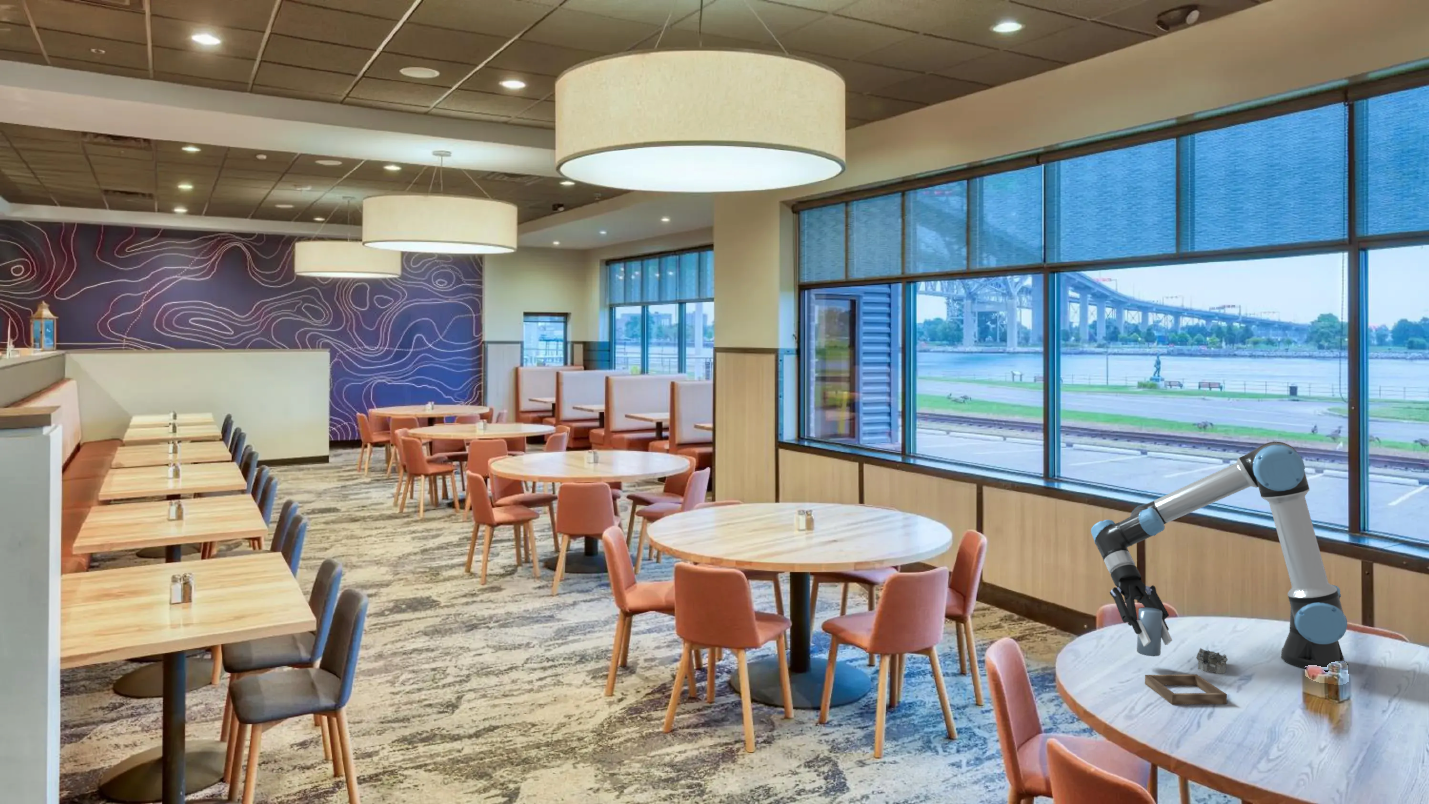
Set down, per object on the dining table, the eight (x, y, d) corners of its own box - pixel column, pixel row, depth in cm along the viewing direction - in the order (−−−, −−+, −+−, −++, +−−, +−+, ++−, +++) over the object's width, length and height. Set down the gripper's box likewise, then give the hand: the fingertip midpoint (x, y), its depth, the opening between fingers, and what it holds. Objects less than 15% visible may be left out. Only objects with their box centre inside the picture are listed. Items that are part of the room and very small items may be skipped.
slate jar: (1153, 648, 264) (1155, 607, 263) (1164, 656, 258) (1166, 613, 257) (1132, 648, 263) (1134, 607, 263) (1143, 656, 257) (1145, 613, 257)
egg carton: (1225, 676, 256) (1225, 661, 256) (1194, 670, 260) (1195, 656, 260) (1228, 664, 265) (1229, 650, 265) (1199, 659, 269) (1199, 645, 269)
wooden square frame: (1196, 683, 250) (1196, 674, 250) (1226, 703, 236) (1226, 694, 236) (1144, 683, 249) (1145, 674, 249) (1172, 704, 235) (1172, 694, 235)
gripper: (1145, 575, 276) (1181, 647, 261) (1087, 577, 272) (1120, 651, 257) (1158, 561, 271) (1195, 634, 256) (1099, 564, 267) (1134, 638, 252)
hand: (1157, 643), depth 257 cm, fingers closed on slate jar, 6 cm apart
